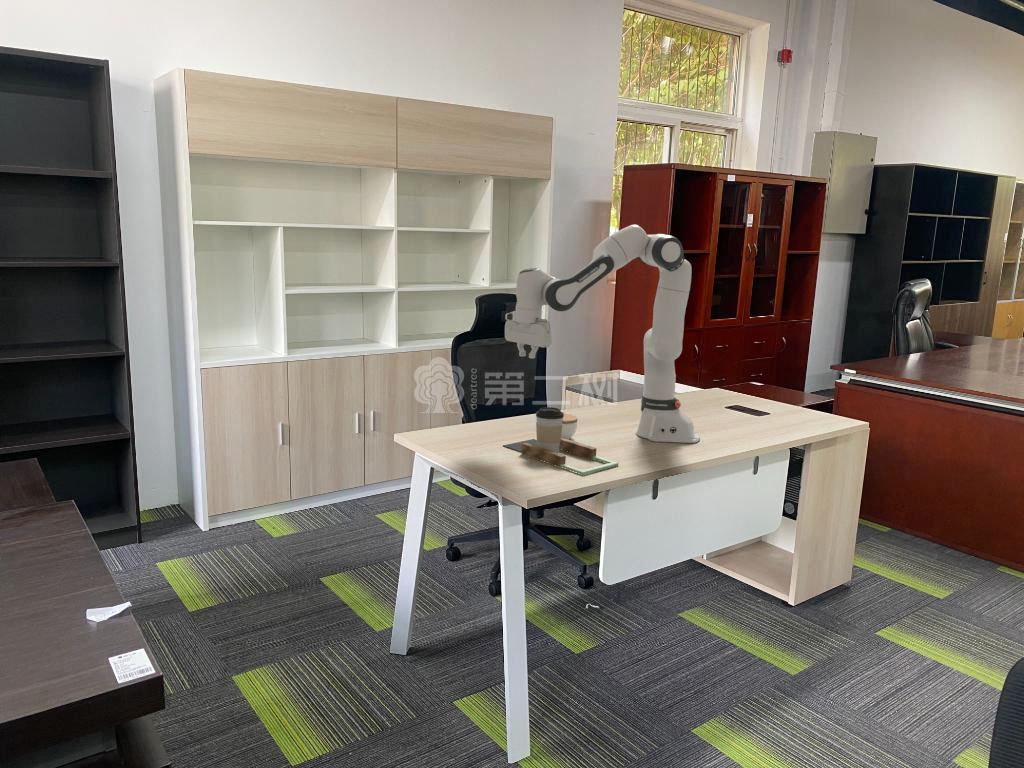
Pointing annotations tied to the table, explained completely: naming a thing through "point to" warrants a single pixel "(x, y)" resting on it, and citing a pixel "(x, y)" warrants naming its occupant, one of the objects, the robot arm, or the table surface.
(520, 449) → the mat
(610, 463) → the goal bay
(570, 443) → the channel
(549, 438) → the coffee cup
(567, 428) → the lidded jar
